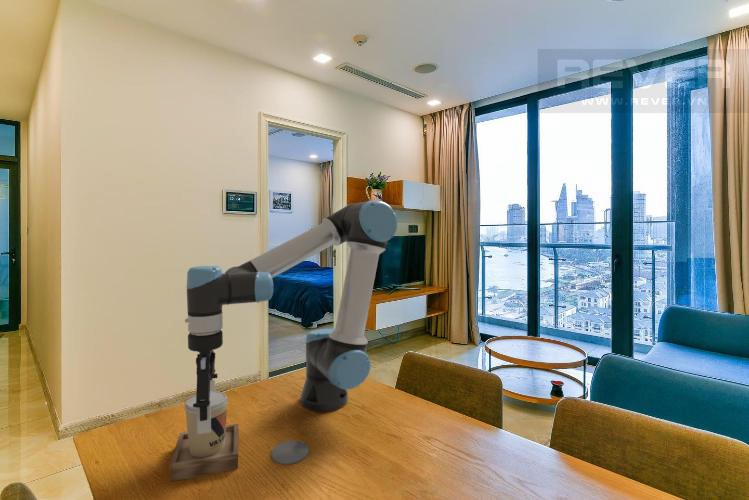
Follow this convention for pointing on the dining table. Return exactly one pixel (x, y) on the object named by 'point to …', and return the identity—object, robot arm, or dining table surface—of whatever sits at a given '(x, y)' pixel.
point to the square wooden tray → (194, 466)
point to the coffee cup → (216, 438)
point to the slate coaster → (289, 452)
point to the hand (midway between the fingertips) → (207, 418)
